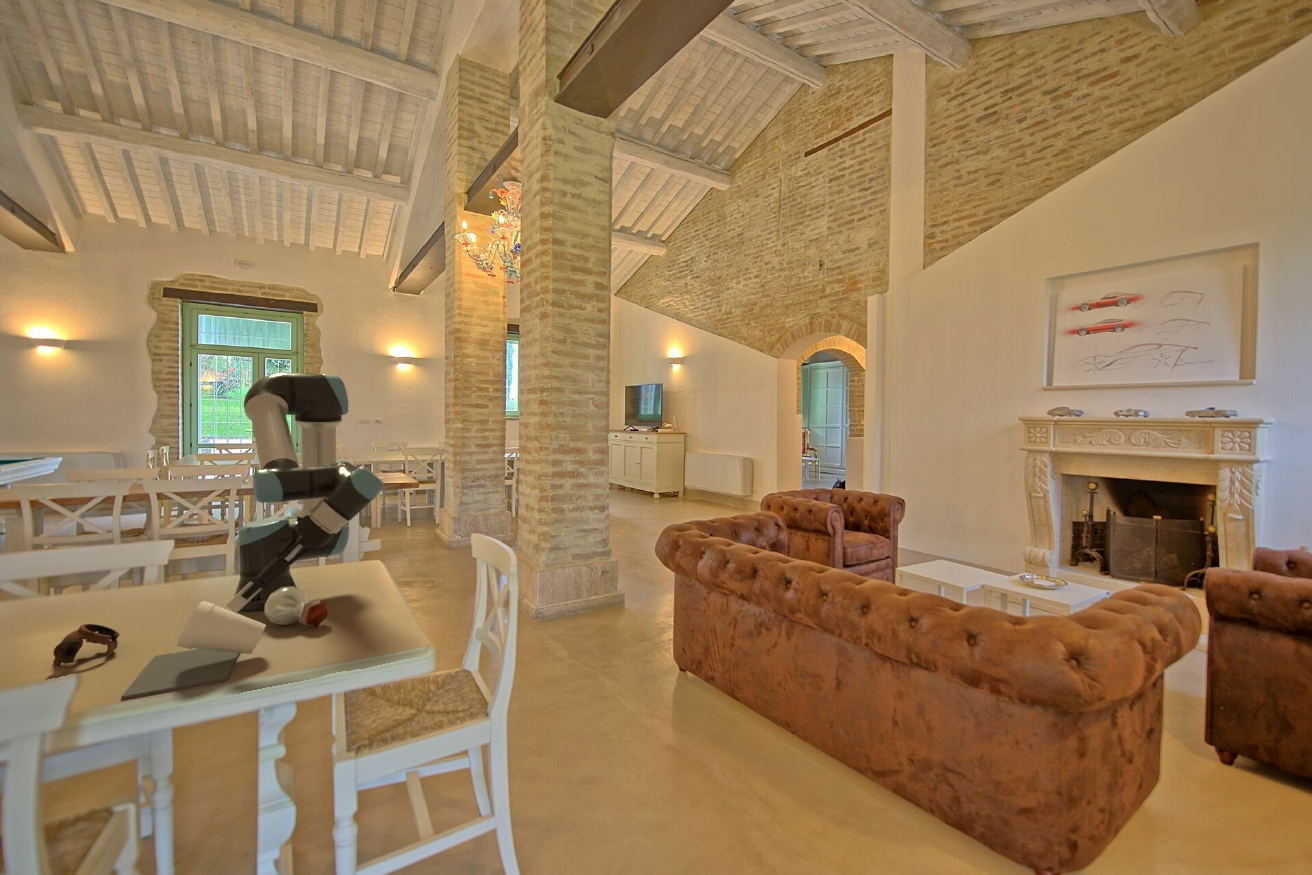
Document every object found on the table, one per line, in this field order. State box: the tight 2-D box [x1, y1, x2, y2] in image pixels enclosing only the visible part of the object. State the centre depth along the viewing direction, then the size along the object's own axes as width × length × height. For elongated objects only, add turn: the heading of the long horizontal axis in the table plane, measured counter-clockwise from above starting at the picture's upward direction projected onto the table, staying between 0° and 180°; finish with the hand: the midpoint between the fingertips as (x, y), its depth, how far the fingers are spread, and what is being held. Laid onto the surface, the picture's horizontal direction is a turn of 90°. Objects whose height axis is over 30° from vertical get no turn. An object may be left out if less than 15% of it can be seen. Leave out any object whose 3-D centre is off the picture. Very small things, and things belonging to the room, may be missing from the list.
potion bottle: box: [263, 586, 329, 628], centre depth 144 cm, size 9×10×15 cm
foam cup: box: [176, 600, 267, 655], centre depth 122 cm, size 10×9×13 cm
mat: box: [120, 648, 241, 700], centre depth 119 cm, size 16×20×1 cm
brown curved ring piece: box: [52, 623, 121, 667], centre depth 124 cm, size 12×9×8 cm
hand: (231, 608), depth 122 cm, fingers closed
